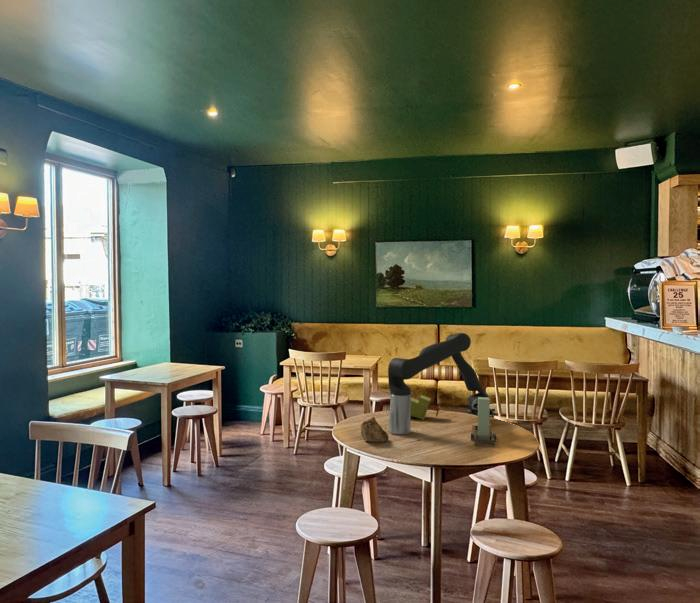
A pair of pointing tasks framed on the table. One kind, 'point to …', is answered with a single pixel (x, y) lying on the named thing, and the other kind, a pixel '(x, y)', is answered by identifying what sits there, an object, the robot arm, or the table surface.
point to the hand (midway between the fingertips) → (482, 415)
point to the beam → (483, 442)
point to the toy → (421, 407)
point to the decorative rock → (373, 431)
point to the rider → (483, 418)
